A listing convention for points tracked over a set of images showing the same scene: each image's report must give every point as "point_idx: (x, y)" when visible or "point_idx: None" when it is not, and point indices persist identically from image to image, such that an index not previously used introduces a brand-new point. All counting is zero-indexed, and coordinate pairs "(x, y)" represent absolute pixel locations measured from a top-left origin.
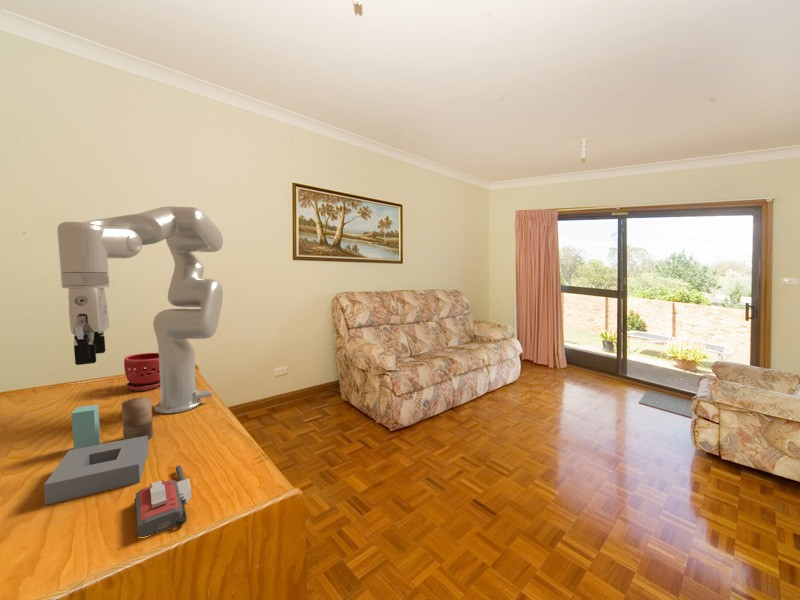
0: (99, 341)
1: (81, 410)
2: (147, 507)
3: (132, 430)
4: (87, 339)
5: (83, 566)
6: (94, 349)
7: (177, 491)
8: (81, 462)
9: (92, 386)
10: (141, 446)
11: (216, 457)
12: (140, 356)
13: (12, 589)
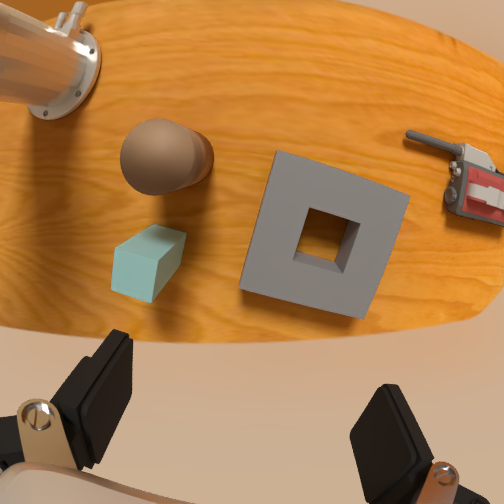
0: (102, 402)
1: (141, 284)
2: (498, 212)
3: (203, 171)
4: (461, 497)
5: (495, 269)
6: (422, 435)
7: (490, 171)
8: (323, 274)
9: None
10: (334, 173)
11: (399, 70)
12: None
13: (476, 315)
